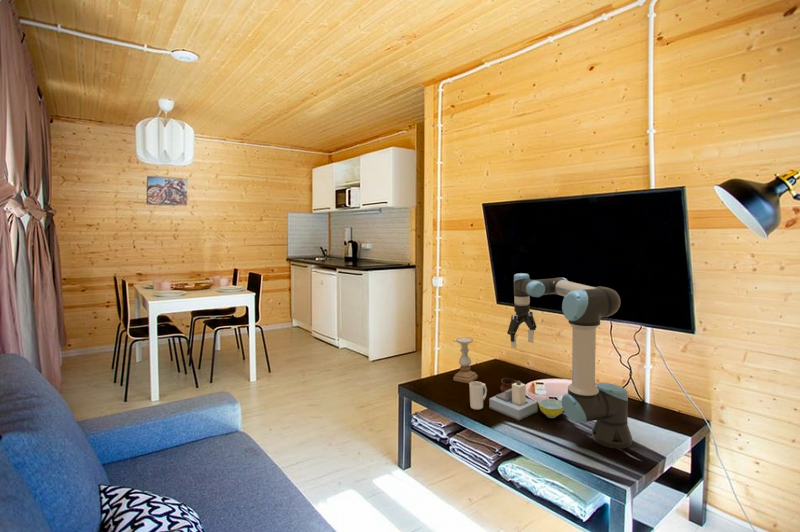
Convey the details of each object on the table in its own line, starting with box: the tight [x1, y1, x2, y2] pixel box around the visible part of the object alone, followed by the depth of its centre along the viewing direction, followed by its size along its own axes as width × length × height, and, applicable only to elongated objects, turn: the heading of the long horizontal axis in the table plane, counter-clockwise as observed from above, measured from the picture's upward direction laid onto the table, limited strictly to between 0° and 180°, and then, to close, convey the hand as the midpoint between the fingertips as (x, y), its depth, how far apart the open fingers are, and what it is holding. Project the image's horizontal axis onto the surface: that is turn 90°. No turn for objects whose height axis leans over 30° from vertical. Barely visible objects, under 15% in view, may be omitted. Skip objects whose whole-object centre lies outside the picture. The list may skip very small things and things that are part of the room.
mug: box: [468, 380, 488, 410], centre depth 220 cm, size 10×7×12 cm, turn 120°
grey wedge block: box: [495, 389, 512, 402], centre depth 217 cm, size 8×8×5 cm
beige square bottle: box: [512, 380, 527, 406], centre depth 211 cm, size 4×4×14 cm
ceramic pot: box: [499, 377, 517, 393], centre depth 236 cm, size 18×18×7 cm
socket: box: [488, 395, 539, 421], centre depth 214 cm, size 18×14×5 cm
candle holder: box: [452, 336, 479, 384], centre depth 257 cm, size 11×11×24 cm
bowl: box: [538, 398, 564, 419], centre depth 206 cm, size 11×12×6 cm
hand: (522, 345), depth 224 cm, fingers open, 13 cm apart
